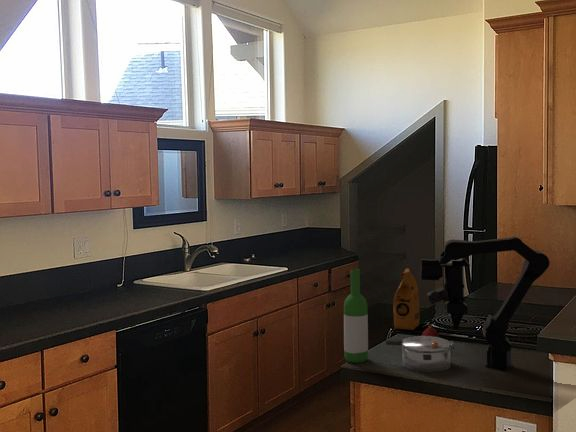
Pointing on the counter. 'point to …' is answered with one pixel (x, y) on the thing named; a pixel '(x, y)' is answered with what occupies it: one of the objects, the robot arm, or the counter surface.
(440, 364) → the cooker pot
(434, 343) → the lid
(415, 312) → the coffee package
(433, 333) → the onion
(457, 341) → the counter surface
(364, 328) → the wine bottle
